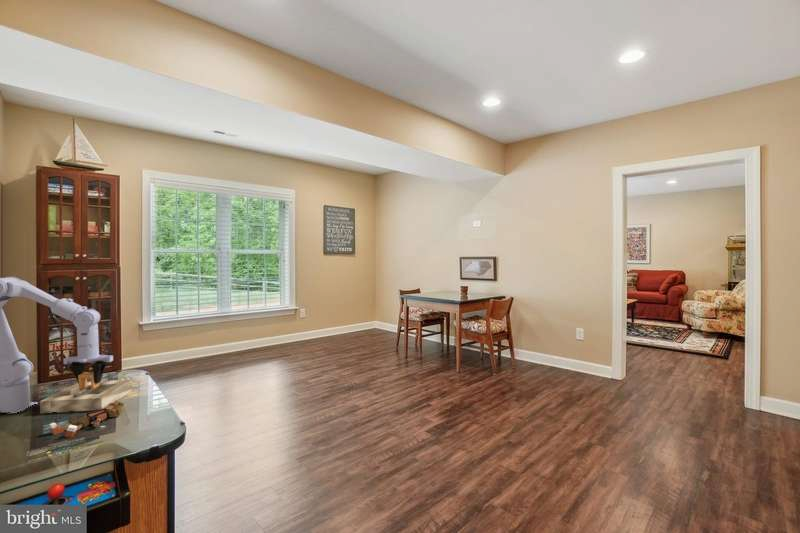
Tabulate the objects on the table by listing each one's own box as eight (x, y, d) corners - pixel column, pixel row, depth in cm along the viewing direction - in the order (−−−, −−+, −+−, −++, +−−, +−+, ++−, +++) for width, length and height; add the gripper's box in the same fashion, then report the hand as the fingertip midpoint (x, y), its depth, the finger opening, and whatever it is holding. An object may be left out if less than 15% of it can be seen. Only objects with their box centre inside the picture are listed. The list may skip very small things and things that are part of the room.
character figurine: (48, 435, 107) (47, 421, 107) (114, 409, 124) (114, 398, 124) (70, 440, 104) (69, 426, 104) (134, 413, 121) (134, 401, 121)
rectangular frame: (40, 413, 121) (39, 397, 120) (79, 392, 138) (79, 378, 138) (101, 409, 123) (101, 394, 123) (132, 390, 141) (132, 376, 141)
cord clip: (78, 389, 129) (78, 375, 128) (84, 386, 132) (84, 372, 131) (93, 388, 129) (93, 374, 129) (99, 385, 132) (98, 371, 132)
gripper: (56, 348, 125) (57, 388, 126) (103, 346, 127) (105, 385, 128) (71, 343, 132) (72, 380, 133) (116, 341, 134) (117, 378, 135)
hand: (89, 382), depth 131 cm, fingers closed on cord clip, 5 cm apart
